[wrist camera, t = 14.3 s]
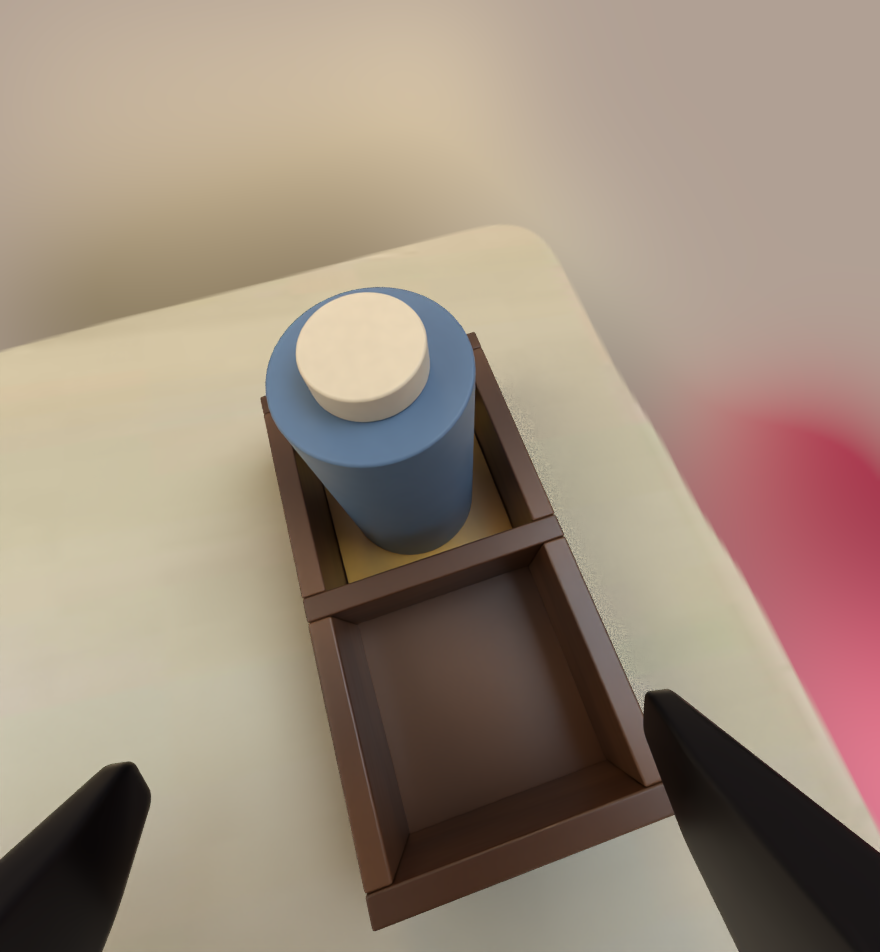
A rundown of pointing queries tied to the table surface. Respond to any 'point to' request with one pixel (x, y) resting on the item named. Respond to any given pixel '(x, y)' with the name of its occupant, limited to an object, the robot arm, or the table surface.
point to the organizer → (466, 683)
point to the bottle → (382, 412)
